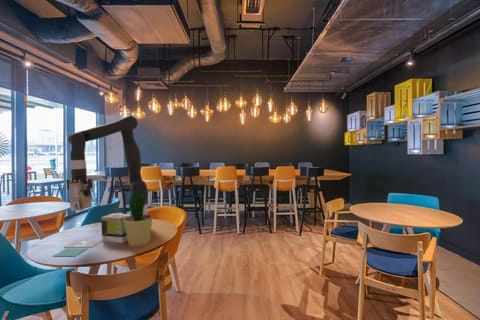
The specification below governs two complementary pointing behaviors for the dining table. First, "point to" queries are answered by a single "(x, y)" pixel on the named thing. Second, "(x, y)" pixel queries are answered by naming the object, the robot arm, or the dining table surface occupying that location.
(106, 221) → the tea box
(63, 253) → the mat
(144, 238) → the potted cactus
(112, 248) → the dining table surface
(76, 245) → the plate
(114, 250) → the dining table surface
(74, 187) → the coffee box
